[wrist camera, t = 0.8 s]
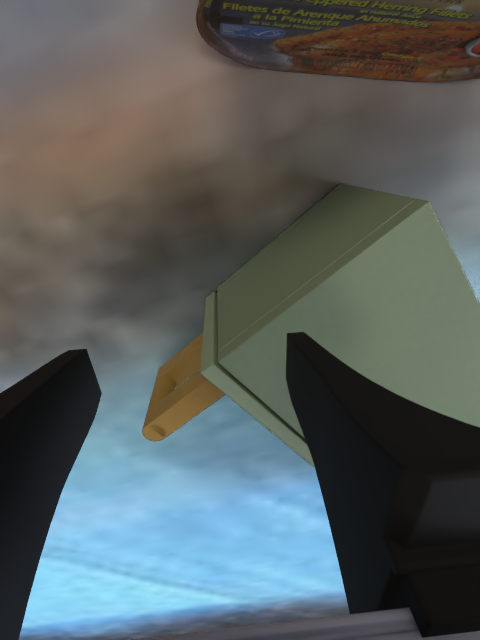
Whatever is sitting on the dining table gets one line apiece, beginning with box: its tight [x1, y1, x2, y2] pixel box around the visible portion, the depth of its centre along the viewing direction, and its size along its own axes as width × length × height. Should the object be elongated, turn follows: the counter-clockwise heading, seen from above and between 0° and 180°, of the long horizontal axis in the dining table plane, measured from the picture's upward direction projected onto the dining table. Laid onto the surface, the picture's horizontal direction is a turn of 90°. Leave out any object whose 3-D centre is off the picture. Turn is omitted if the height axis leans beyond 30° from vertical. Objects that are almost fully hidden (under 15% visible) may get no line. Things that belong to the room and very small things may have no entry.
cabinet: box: [217, 183, 480, 437], centre depth 19 cm, size 10×16×9 cm, turn 41°
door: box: [142, 291, 315, 468], centre depth 21 cm, size 7×16×8 cm, turn 41°
